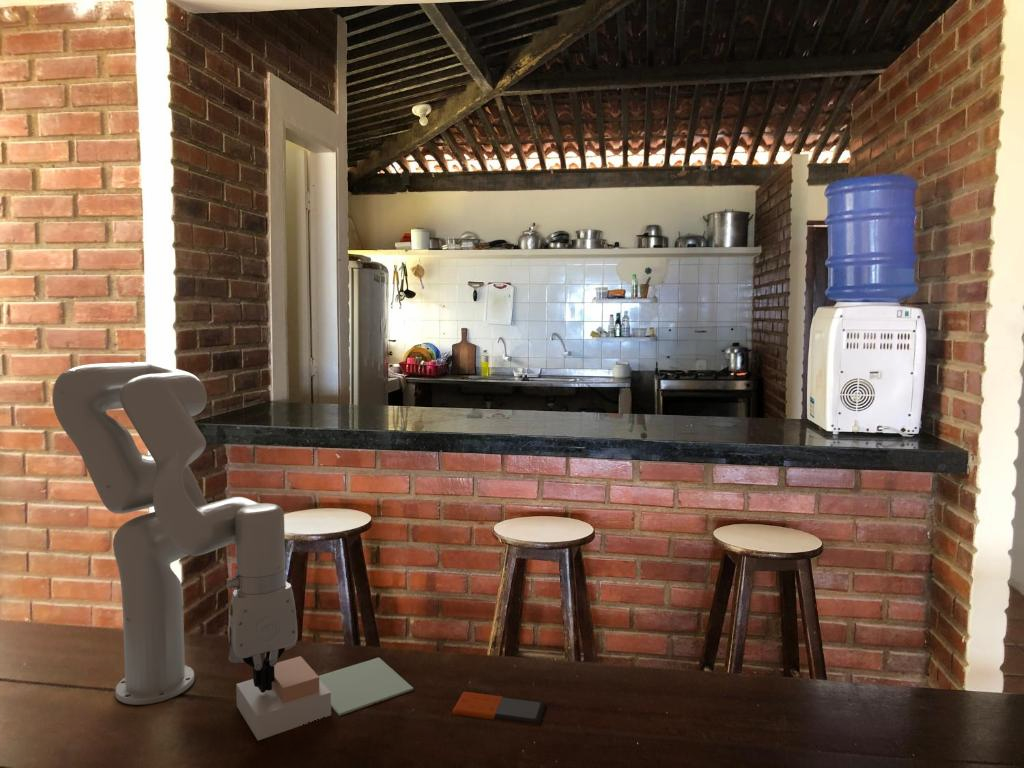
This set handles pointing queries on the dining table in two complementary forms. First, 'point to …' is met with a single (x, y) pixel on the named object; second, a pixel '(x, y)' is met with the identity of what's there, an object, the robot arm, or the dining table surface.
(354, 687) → the mat
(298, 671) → the salmon rectangular block
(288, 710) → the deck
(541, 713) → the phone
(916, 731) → the dining table surface
